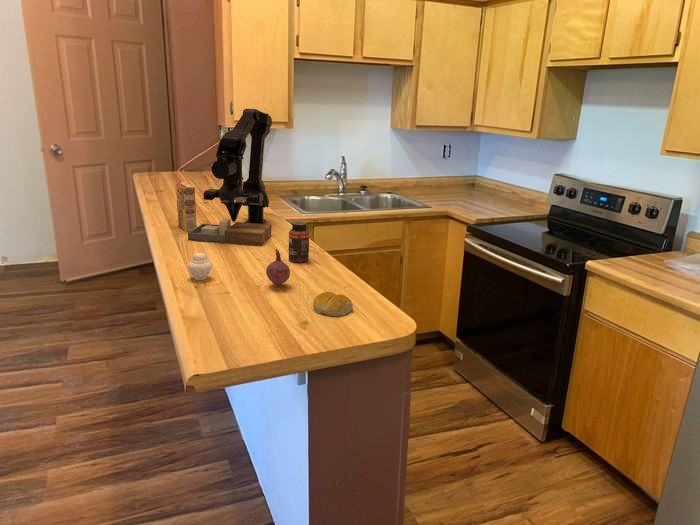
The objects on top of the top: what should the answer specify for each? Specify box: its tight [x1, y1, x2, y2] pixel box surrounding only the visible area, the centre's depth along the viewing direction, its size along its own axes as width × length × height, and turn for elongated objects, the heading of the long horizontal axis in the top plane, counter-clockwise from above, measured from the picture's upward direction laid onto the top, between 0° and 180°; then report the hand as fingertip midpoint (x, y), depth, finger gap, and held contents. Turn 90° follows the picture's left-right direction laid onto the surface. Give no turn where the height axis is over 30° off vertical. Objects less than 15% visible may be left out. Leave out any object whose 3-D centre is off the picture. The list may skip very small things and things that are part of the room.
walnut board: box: [224, 221, 272, 247], centre depth 176 cm, size 13×12×4 cm
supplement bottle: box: [288, 221, 310, 264], centre depth 157 cm, size 6×6×11 cm
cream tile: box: [218, 218, 232, 235], centre depth 180 cm, size 4×4×2 cm
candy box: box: [175, 182, 198, 232], centre depth 184 cm, size 9×4×15 cm, turn 33°
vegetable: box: [265, 248, 291, 287], centre depth 135 cm, size 6×6×10 cm
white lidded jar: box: [187, 252, 213, 281], centre depth 138 cm, size 6×6×7 cm
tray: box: [187, 223, 225, 244], centre depth 178 cm, size 13×12×2 cm
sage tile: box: [201, 225, 219, 235], centre depth 178 cm, size 4×4×2 cm
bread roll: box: [312, 291, 354, 317], centre depth 124 cm, size 8×9×4 cm
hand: (234, 221), depth 179 cm, fingers closed
